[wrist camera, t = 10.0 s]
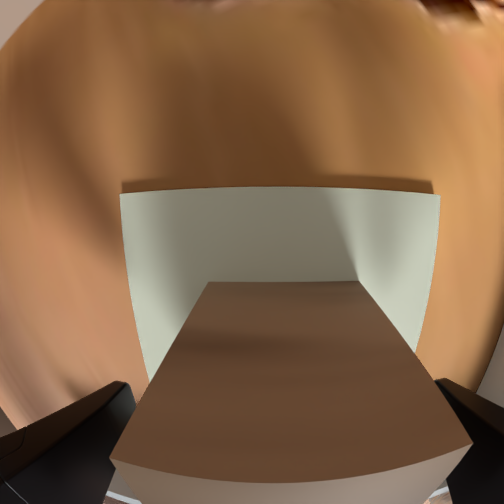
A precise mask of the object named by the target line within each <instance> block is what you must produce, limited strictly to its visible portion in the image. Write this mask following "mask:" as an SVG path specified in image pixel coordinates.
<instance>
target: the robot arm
mask: <svg viewBox="0 0 504 504" xmlns="http://www.w3.org/2000/svg"><path fill="white" fill-rule="evenodd" d="M434 382H435V383H436V385H437V386H438V388H439V389H440V391H441V392H442V394H443V395H444V397H445V398H446V400H447V402H448V403H449V405H450V406H451V408H452V409H453V411H454V412H455V414H456V416H457V417H458V419H459V420H460V422H461V424H462V425H463V427H464V429H465V430H466V432H467V433H468V435H469V437H470V439H471V440H472V442H473V444H472V446H471V447H470V448H469V450H468V451H467V452H466V454H465V455H464V457H463V458H462V459H461V460H460V462H459V463H458V464H457V466H456V467H455V468H454V469H453V471H452V472H451V473H450V474H449V475H448V477H447V478H446V482H447V485H448V489H449V492H450V496H451V500H452V503H453V504H504V408H503V407H501V406H499V405H497V404H495V403H493V402H491V401H489V400H487V399H485V398H483V397H481V396H480V395H478V394H476V393H474V392H472V391H470V390H468V389H466V388H464V387H462V386H460V385H458V384H456V383H455V382H453V381H451V380H449V379H447V378H441V379H437V380H434ZM135 409H136V403H135V399H134V396H133V393H132V390H131V387H130V385H129V384H128V383H126V382H121V381H114V382H112V383H110V384H108V385H107V386H105V387H103V388H101V389H99V390H97V391H95V392H93V393H92V394H90V395H88V396H86V397H84V398H82V399H80V400H78V401H76V402H74V403H72V404H70V405H68V406H66V407H64V408H63V409H61V410H59V411H57V412H55V413H53V414H50V415H48V416H46V417H44V418H42V419H40V420H38V421H36V422H34V423H32V424H30V425H28V426H27V427H23V428H21V429H19V430H17V431H15V432H12V433H10V434H8V435H5V436H3V437H0V504H103V501H104V499H105V496H106V493H107V491H108V488H109V486H110V483H111V481H112V478H113V475H114V473H115V470H116V468H115V466H114V465H113V463H112V461H111V460H110V458H109V457H110V455H111V453H112V451H113V449H114V447H115V446H116V444H117V442H118V440H119V438H120V436H121V434H122V433H123V431H124V429H125V427H126V425H127V423H128V422H129V420H130V418H131V416H132V414H133V412H134V411H135Z"/></svg>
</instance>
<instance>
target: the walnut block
mask: <svg viewBox="0 0 504 504" xmlns="http://www.w3.org/2000/svg"><path fill="white" fill-rule="evenodd" d="M472 444H473V442H472V440H471V439H470V437H469V435H468V433H467V432H466V430H465V429H464V427H463V425H462V424H461V422H460V420H459V419H458V417H457V416H456V414H455V412H454V411H453V409H452V408H451V406H450V405H449V403H448V402H447V400H446V398H445V397H444V395H443V394H442V392H441V391H440V389H439V388H438V386H437V385H436V383H435V382H434V380H433V379H432V378H431V376H430V375H429V373H428V372H427V370H426V369H425V367H424V366H423V365H422V363H421V362H420V360H419V359H418V358H417V356H416V355H415V353H414V352H413V351H412V349H411V348H410V346H409V345H408V344H407V342H406V341H405V340H404V338H403V337H402V336H401V334H400V333H399V331H398V330H397V329H396V327H395V326H394V325H393V324H392V322H391V321H390V320H389V318H388V317H387V316H386V314H385V313H384V312H383V310H382V309H381V308H380V307H379V305H378V304H377V303H376V301H375V300H374V299H373V298H372V296H371V295H370V294H369V293H368V291H367V290H366V289H365V288H364V286H363V285H362V284H361V283H360V281H325V282H208V283H207V285H206V287H205V288H204V290H203V292H202V293H201V295H200V297H199V298H198V300H197V302H196V303H195V305H194V307H193V309H192V310H191V312H190V314H189V315H188V317H187V319H186V321H185V322H184V324H183V326H182V327H181V329H180V331H179V333H178V334H177V336H176V338H175V340H174V341H173V343H172V345H171V347H170V348H169V350H168V352H167V354H166V355H165V357H164V359H163V361H162V362H161V364H160V366H159V368H158V369H157V371H156V373H155V375H154V376H153V378H152V380H151V382H150V384H149V385H148V387H147V389H146V391H145V392H144V394H143V396H142V398H141V400H140V401H139V403H138V405H137V407H136V409H135V411H134V412H133V414H132V416H131V418H130V420H129V422H128V423H127V425H126V427H125V429H124V431H123V433H122V434H121V436H120V438H119V440H118V442H117V444H116V446H115V447H114V449H113V451H112V453H111V455H110V457H109V458H110V460H111V461H112V463H113V465H114V466H115V468H116V469H117V471H118V472H119V474H120V475H121V476H122V478H123V479H124V481H125V482H126V484H127V485H128V486H129V488H130V489H131V490H132V492H133V493H134V494H135V496H136V497H137V498H138V500H139V501H140V502H141V503H142V504H423V503H424V502H425V501H426V500H427V499H428V498H429V497H430V496H431V495H432V494H433V493H434V491H435V490H436V489H437V488H438V487H439V486H440V485H441V484H442V482H443V481H444V480H445V479H446V478H447V477H448V475H449V474H450V473H451V472H452V471H453V469H454V468H455V467H456V466H457V464H458V463H459V462H460V460H461V459H462V458H463V457H464V455H465V454H466V452H467V451H468V450H469V448H470V447H471V446H472Z"/></svg>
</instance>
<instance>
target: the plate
mask: <svg viewBox="0 0 504 504" xmlns="http://www.w3.org/2000/svg"><path fill="white" fill-rule="evenodd" d="M120 209H121V222H122V233H123V243H124V252H125V260H126V267H127V274H128V281H129V288H130V294H131V300H132V305H133V311H134V316H135V321H136V326H137V331H138V336H139V341H140V345H141V349H142V354H143V358H144V362H145V366H146V370H147V374H148V377H149V381H150V382H151V380H152V378H153V376H154V375H155V373H156V371H157V369H158V368H159V366H160V364H161V362H162V361H163V359H164V357H165V355H166V354H167V352H168V350H169V348H170V347H171V345H172V343H173V341H174V340H175V338H176V336H177V334H178V333H179V331H180V329H181V327H182V326H183V324H184V322H185V321H186V319H187V317H188V315H189V314H190V312H191V310H192V309H193V307H194V305H195V303H196V302H197V300H198V298H199V297H200V295H201V293H202V292H203V290H204V288H205V287H206V285H207V283H208V282H325V281H360V283H361V284H362V285H363V286H364V288H365V289H366V290H367V291H368V293H369V294H370V295H371V296H372V298H373V299H374V300H375V301H376V303H377V304H378V305H379V307H380V308H381V309H382V310H383V312H384V313H385V314H386V316H387V317H388V318H389V320H390V321H391V322H392V324H393V325H394V326H395V327H396V329H397V330H398V331H399V333H400V334H401V336H402V337H403V338H404V340H405V341H406V342H407V344H408V345H409V346H410V348H411V349H412V351H413V352H414V353H415V351H416V347H417V344H418V340H419V336H420V333H421V329H422V325H423V320H424V316H425V312H426V307H427V302H428V297H429V292H430V287H431V281H432V275H433V269H434V262H435V255H436V247H437V238H438V227H439V214H440V195H436V194H427V193H416V192H404V191H391V190H376V189H357V188H333V187H220V188H195V189H176V190H161V191H147V192H134V193H124V194H120Z"/></svg>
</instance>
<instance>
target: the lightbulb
mask: <svg viewBox="0 0 504 504" xmlns="http://www.w3.org/2000/svg"><path fill="white" fill-rule="evenodd" d="M429 502H431V503H430V504H453V503H452V500H451V496H450V492H449V491H447V492H445V493H442V494H440V495H437V496H434V497H432V498H429Z"/></svg>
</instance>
